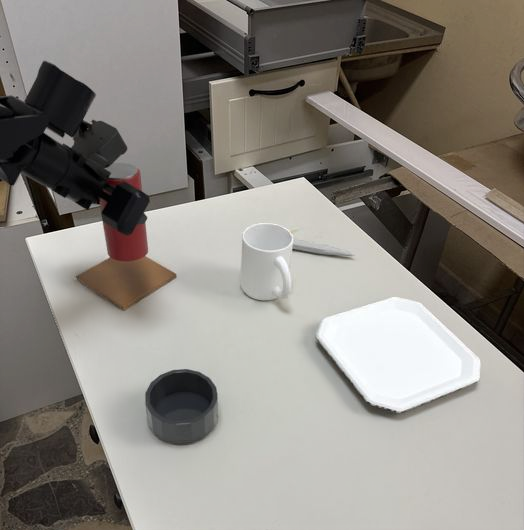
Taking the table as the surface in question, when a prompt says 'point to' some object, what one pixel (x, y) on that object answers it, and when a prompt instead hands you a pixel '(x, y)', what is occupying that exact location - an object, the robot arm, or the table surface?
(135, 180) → the can
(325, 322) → the plate
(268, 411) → the table surface
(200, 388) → the bowl
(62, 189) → the robot arm
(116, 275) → the coaster
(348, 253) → the tool
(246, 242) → the mug
